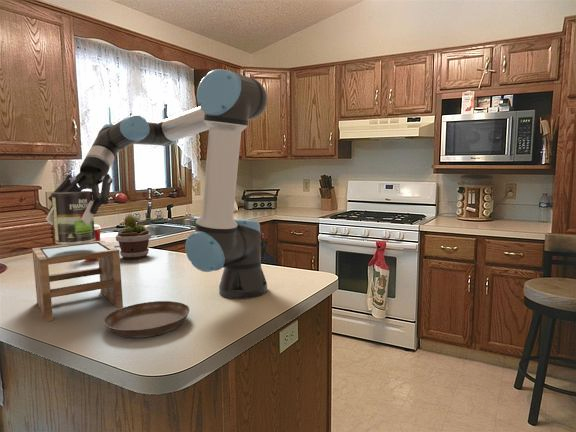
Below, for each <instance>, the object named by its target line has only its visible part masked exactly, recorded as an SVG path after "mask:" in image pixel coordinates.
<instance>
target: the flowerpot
mask: <svg viewBox="0 0 576 432" xmlns="http://www.w3.org/2000/svg"><path fill="white" fill-rule="evenodd" d="M137 222H138V221H137V217H136V216H133V214H132V213H131V212H129V214H125V217H124V218H123V221H122V224H123V225H124V229H123V230H121V231H118V235H116V241H118V242H119V245H120V246H119V248H120V250H119V254H120V256H121V257H122V258H123V259H124V260H138V259H143V258H146V257H147V255H148V254H149V250H150V249H149V248H148V247H149V243H150V239H152V234H151V232H149V230H147V229H146V227H145V226H144V225H142V224H141V223H137Z"/></svg>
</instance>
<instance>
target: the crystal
mask: <svg viewBox="0 0 576 432" xmlns="http://www.w3.org/2000/svg"><path fill="white" fill-rule="evenodd" d="M118 232H119V231H118ZM118 232H116V231H115V232H109V233H100V241H105V242H107V243H108V244H110V245H112V246H113V247H115V248H120V245H119V242H118V241H116V235H118Z"/></svg>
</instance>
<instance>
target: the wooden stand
mask: <svg viewBox="0 0 576 432" xmlns="http://www.w3.org/2000/svg"><path fill="white" fill-rule="evenodd" d="M95 243H98V244H99V245H101V246H102V247H104V248H105V249H107V250H105V251H97V252H89V253H81V254H73V255H65V256H58V257H50V258H47V257H46V256H45V255H44V253H43V252H42V250H43V249H52V248H60V247H69V246H78V245H87V244H95ZM31 250H32V251H31V253H32V260H33V261H32V262H33V270H34V271H33V272H34V281H35V283H34V284H35V291H36V303H37V305H38V307H39V310H40V313H41V315H42V317H43V319H44V322H51V321H53V320H54V316H53V315H54V314H53V304H52V298H57V297H64V296H69V295H76V294H81V293H86V292H87V293H88V292H91V291H97V290H98V291H99V290H100V292H101V293H102V294H103V296H105V297H106V298H107V299H108V300H109V301H110V302H111V304H113V305H114V306H115V308H120V307H124V302H123V301H124V300H123V286H122V272H121V271H122V269H121V257H120V256H121V254H120V249H118V247H113V246H112V245H110V244H108V243H107V242H105V241H94V242H89V243H83V244H74V245H59V244H58V245H51V246H43V247H34V248H33V247H32V248H31ZM94 258H98V260H97V261H98V267H92V268H87V269H79V270H73V271H67V272H65V271H64V272H59V273H53V274H50V272H49V271H50V270H49V265H55V264H63V263H64V264H65V263H70V262H71V263H72V262H79V261H85V260H87V259H94ZM95 275H99V281H94V282H87V283H81V284H75V285H70V286H68V285H67V286H63V287H57V288H56V287H55V288H52V289H51V282H52V283H53V282H58V281H65V280H71V279H77V278H83V277H91V276H95Z"/></svg>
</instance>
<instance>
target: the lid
mask: <svg viewBox="0 0 576 432" xmlns="http://www.w3.org/2000/svg"><path fill="white" fill-rule="evenodd" d="M105 250H107V249H105V248H104V247H102V246H101V245H99V244H98V243H95V244H87V245H78V246H69V247H60V248H52V249H43V250H42V252H43V253H44V255H45V256H46V257H47V258H50V257H58V256H65V255H73V254H81V253H89V252H97V251H105Z"/></svg>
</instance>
